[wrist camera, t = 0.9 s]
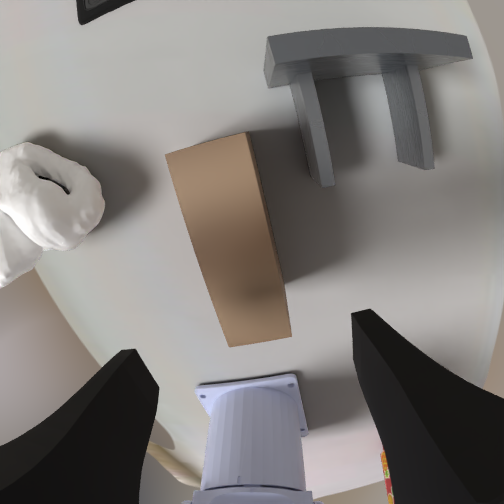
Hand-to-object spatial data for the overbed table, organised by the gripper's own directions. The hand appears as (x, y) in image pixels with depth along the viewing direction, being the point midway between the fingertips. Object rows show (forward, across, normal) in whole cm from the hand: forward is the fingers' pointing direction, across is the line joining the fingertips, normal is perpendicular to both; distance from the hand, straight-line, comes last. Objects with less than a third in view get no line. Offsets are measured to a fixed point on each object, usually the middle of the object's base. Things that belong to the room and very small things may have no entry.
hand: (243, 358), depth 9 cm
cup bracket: (+8, -7, -6) cm, 12 cm away
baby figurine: (+9, +13, -7) cm, 17 cm away
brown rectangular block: (+9, 0, -2) cm, 9 cm away
